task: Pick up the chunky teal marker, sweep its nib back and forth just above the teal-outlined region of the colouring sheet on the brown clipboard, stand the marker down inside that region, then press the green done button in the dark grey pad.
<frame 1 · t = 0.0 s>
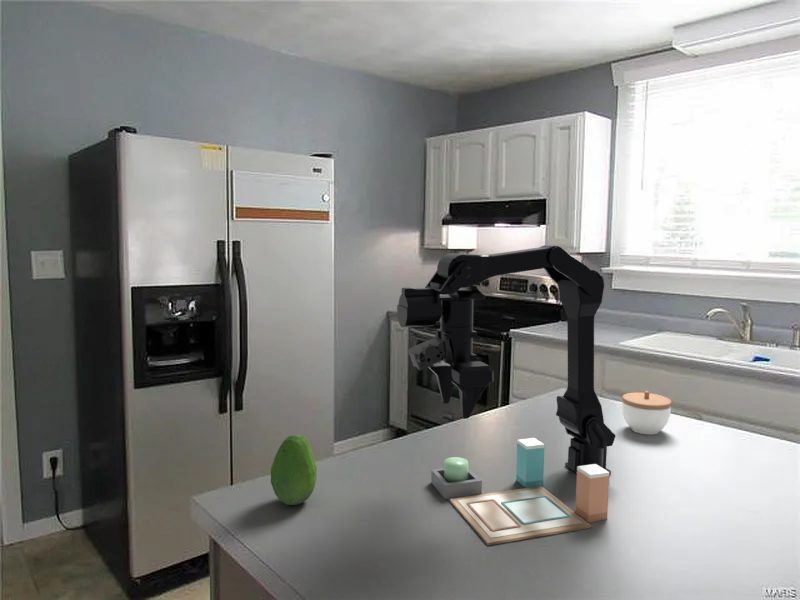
hand: (455, 410, 104), 15 cm above the countertop, fingers open, 9 cm apart
done button: (456, 469, 106), point 4 cm above the countertop, slide at 0.0 cm
button pad: (455, 488, 106), on the countertop
lidded jar: (644, 431, 138), on the countertop
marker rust: (591, 515, 96), on the countertop
colouring board: (517, 513, 97), on the countertop
marker teal: (529, 483, 109), on the countertop
avocado: (294, 503, 101), on the countertop
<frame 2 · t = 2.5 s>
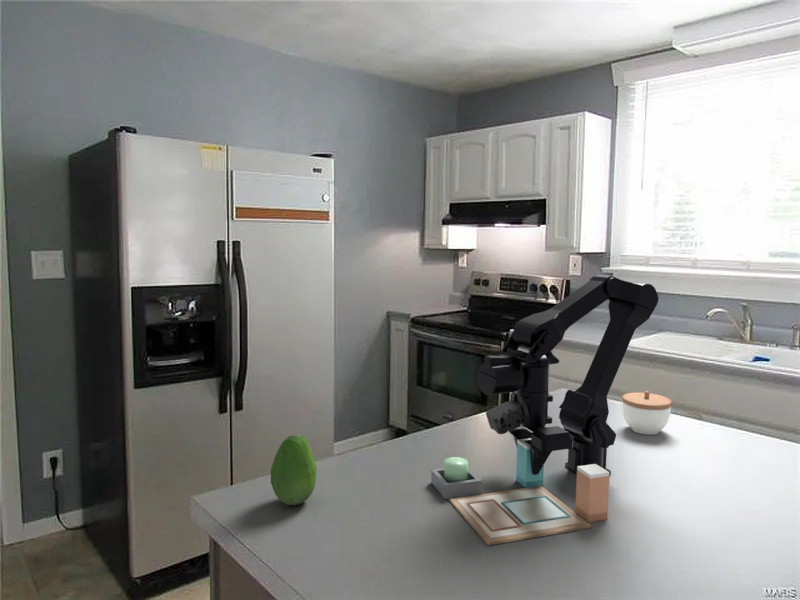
hand: (529, 470, 108), 3 cm above the countertop, fingers closed on marker teal, 4 cm apart
marker teal: (529, 483, 108), on the countertop, touching gripper
everything else where it was.
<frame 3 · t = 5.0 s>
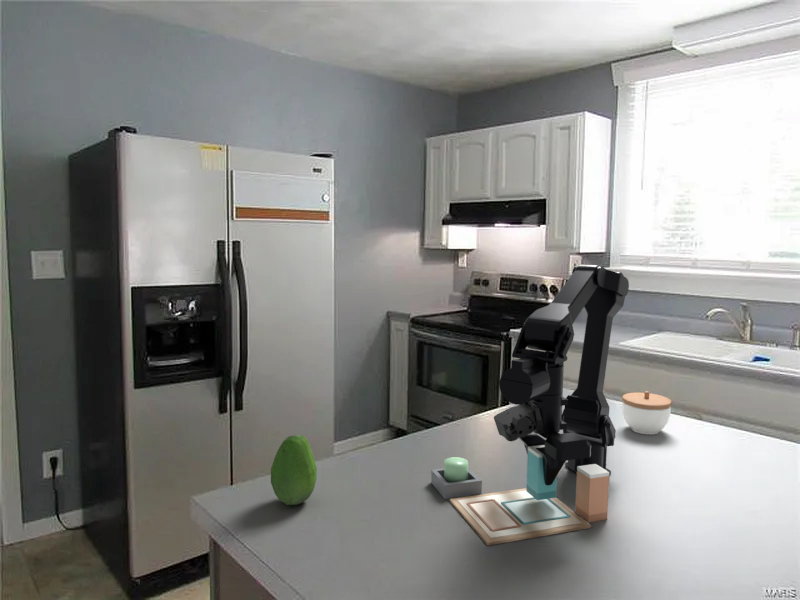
hand: (542, 480, 99), 5 cm above the countertop, fingers closed on marker teal, 4 cm apart
marker teal: (541, 494, 99), point 2 cm above the countertop, touching gripper
everything else where it was.
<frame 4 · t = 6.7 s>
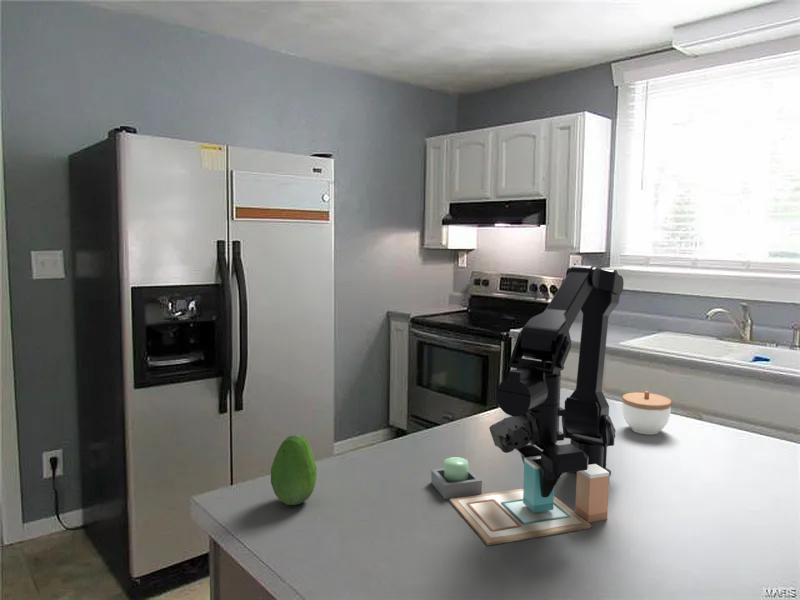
hand: (538, 491, 97), 4 cm above the countertop, fingers closed on marker teal, 4 cm apart
marker teal: (537, 506, 97), point 1 cm above the countertop, touching gripper
everything else where it was.
when the fingers open (4 cm above the countertop, at t = 7.9 s): marker teal stays where it is, resting on colouring board.
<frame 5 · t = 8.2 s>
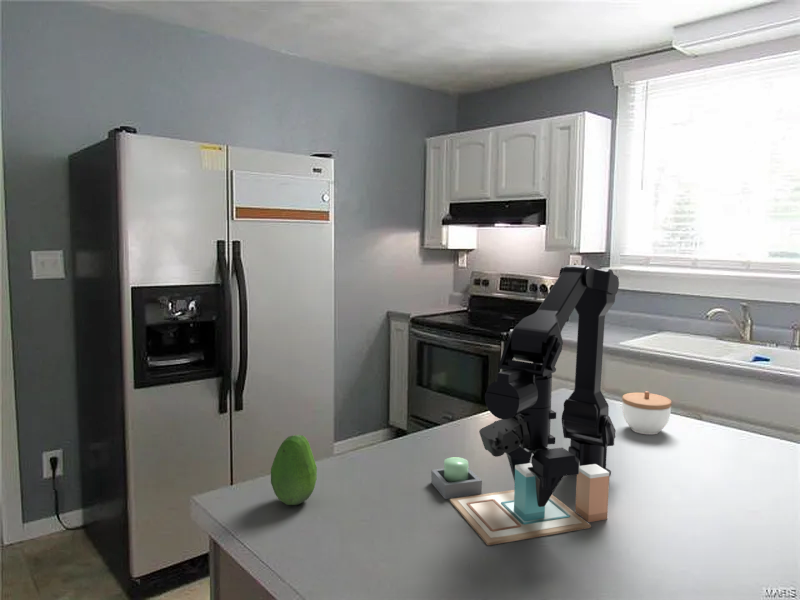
hand: (529, 496, 95), 4 cm above the countertop, fingers open, 7 cm apart
marker teal: (528, 514, 95), point 1 cm above the countertop, touching colouring board
everything else where it was.
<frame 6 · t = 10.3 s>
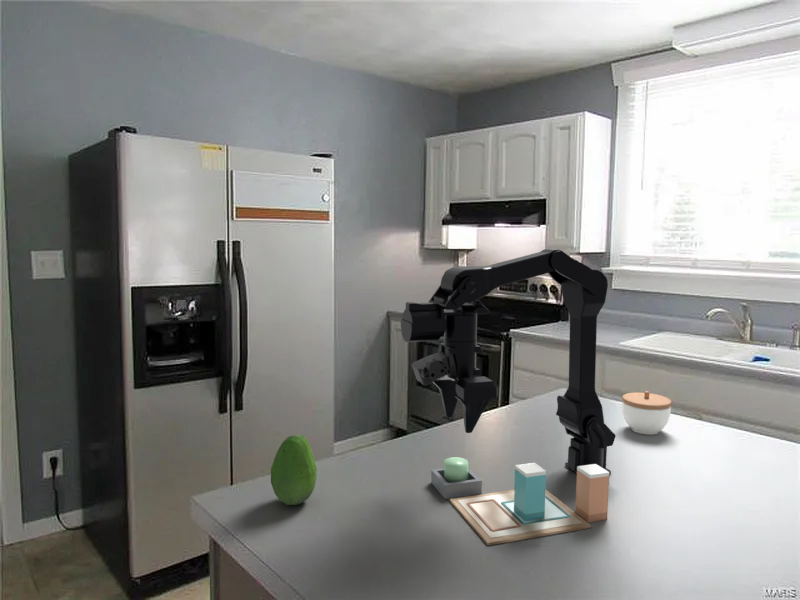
hand: (458, 424, 104), 12 cm above the countertop, fingers open, 8 cm apart
nothing on the countertop moved.
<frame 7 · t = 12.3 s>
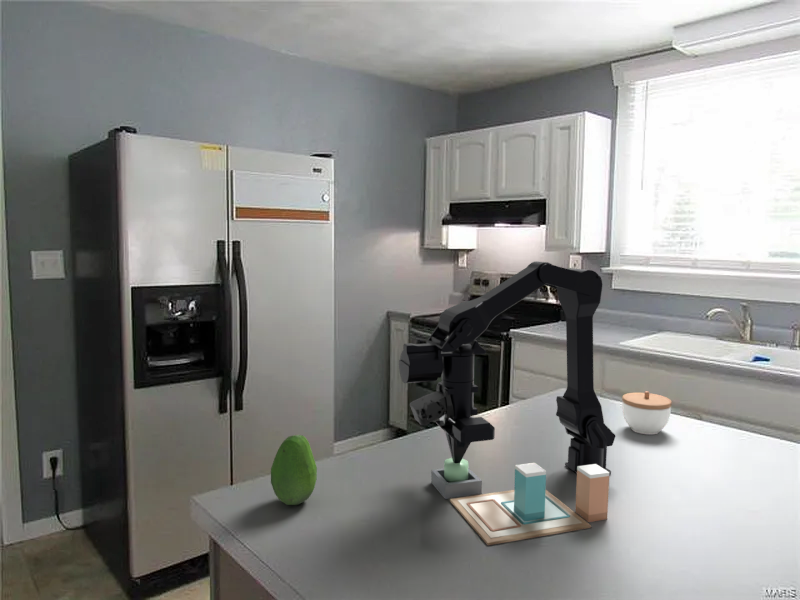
hand: (456, 462, 106), 5 cm above the countertop, fingers closed, pressing on done button
done button: (456, 470, 106), point 3 cm above the countertop, slide at 0.1 cm, touching gripper
everything else where it was.
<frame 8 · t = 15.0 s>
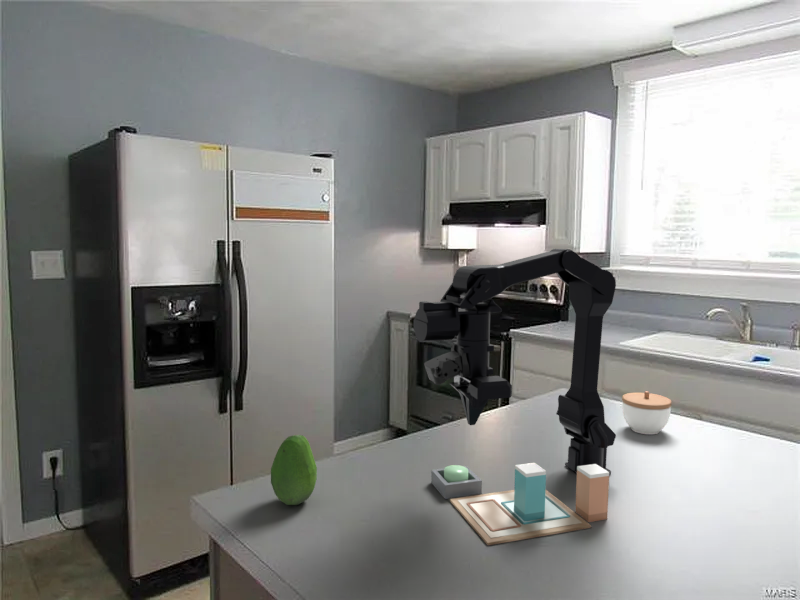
hand: (471, 424, 104), 12 cm above the countertop, fingers closed
done button: (456, 477, 106), point 2 cm above the countertop, slide at 1.5 cm
everything else where it was.
at the end: marker teal inside the target area (2.2 cm from its centre), point 0.5 cm above the countertop; marker teal tilted 0°; done button slide at 1.5 cm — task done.
